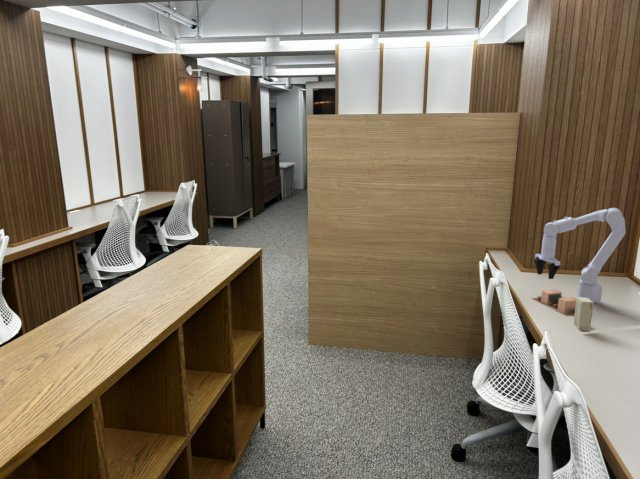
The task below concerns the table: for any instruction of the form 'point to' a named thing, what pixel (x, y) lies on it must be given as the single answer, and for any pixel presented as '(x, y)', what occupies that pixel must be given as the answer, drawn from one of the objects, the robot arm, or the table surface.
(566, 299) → the pink block
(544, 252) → the robot arm
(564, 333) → the table surface
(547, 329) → the table surface
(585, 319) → the skincare box
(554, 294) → the peach rectangular block
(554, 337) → the table surface
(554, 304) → the walnut rack
